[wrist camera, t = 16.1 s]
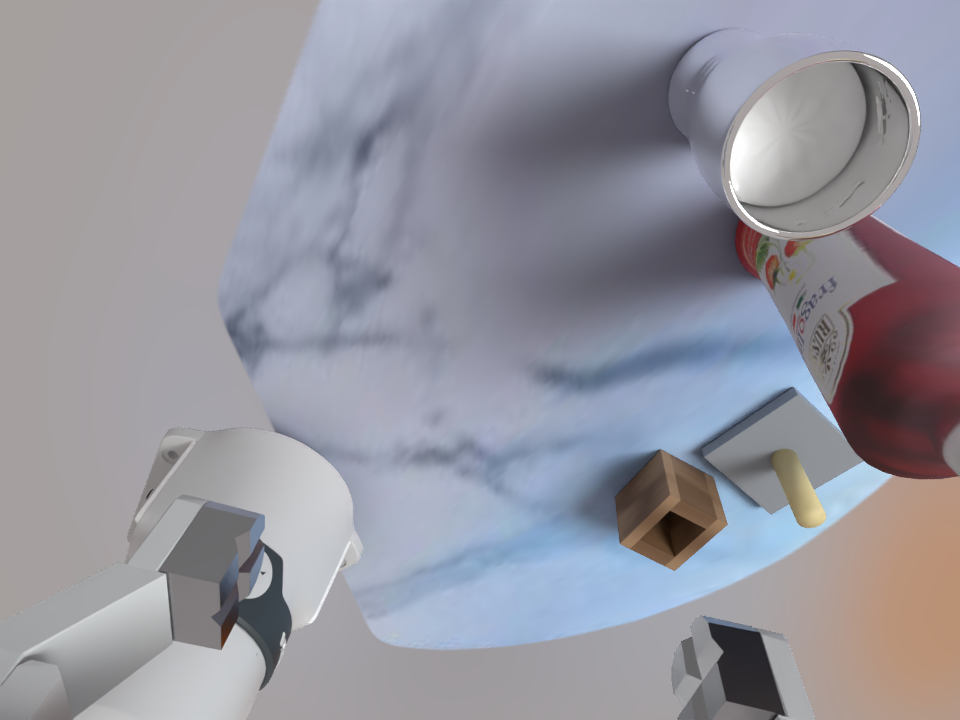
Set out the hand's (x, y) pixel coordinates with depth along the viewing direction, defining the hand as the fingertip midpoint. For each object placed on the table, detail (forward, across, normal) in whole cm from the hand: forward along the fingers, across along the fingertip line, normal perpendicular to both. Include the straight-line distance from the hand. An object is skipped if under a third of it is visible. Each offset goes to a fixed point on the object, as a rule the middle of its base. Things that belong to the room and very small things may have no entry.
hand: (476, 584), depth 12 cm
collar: (+31, -16, +22) cm, 42 cm away
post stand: (+31, -23, +16) cm, 42 cm away
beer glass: (+31, -9, -6) cm, 33 cm away
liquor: (+31, -16, 0) cm, 35 cm away
